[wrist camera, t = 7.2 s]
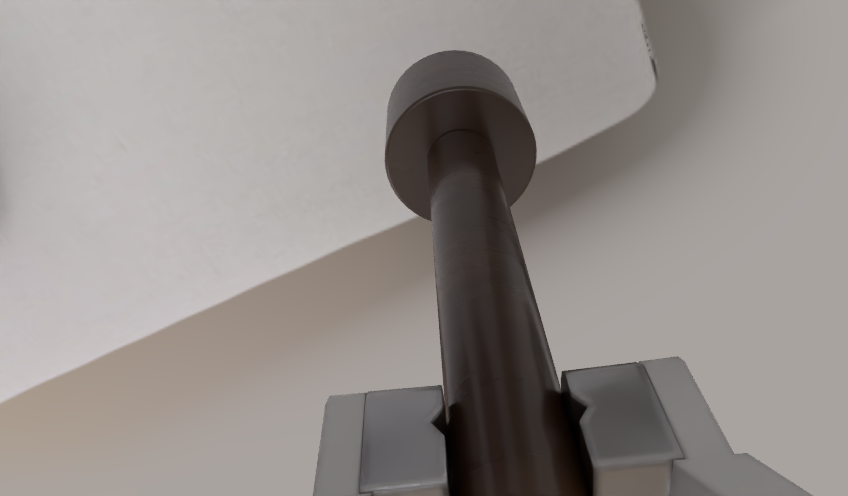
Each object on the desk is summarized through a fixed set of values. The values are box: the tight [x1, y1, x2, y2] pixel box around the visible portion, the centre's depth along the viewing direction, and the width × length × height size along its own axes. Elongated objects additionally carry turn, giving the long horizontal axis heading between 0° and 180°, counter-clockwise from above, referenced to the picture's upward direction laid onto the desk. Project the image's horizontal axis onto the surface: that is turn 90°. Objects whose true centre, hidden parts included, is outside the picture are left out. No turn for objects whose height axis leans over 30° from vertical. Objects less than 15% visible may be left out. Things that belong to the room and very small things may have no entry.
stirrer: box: [385, 50, 590, 496], centre depth 12 cm, size 4×4×15 cm
